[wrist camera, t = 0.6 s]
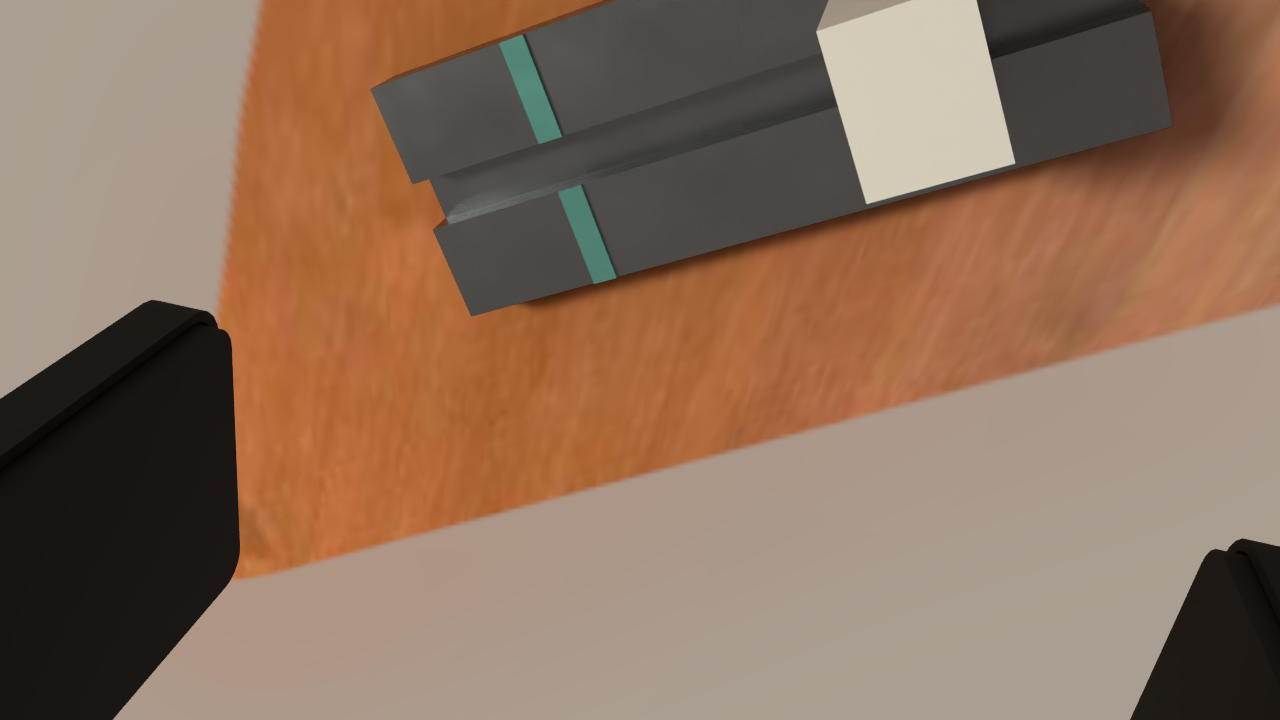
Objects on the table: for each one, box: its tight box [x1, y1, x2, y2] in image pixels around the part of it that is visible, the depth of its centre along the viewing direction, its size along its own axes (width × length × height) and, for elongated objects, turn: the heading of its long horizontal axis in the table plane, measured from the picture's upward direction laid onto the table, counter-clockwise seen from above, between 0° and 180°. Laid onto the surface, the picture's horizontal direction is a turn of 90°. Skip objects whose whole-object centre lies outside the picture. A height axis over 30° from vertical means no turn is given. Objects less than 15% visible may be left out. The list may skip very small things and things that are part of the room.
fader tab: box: [816, 0, 1015, 204], centre depth 29 cm, size 4×4×6 cm
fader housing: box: [371, 0, 1173, 316], centre depth 34 cm, size 22×8×2 cm, turn 110°
